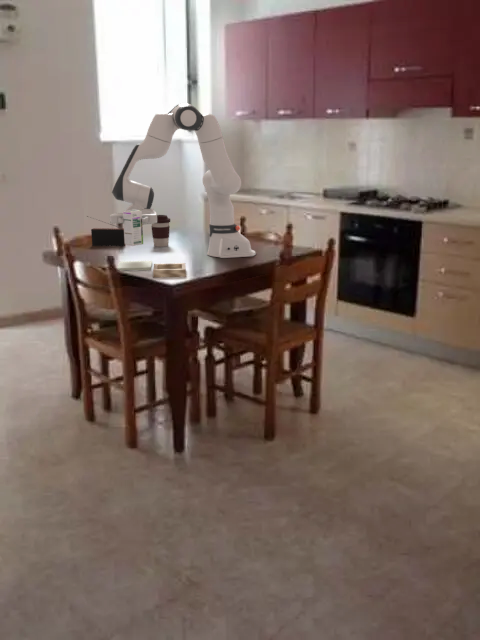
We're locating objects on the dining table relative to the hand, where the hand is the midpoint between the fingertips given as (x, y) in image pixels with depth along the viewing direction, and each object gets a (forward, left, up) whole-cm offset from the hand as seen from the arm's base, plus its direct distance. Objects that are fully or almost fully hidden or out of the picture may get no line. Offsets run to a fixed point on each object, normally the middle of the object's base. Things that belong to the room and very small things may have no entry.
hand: (132, 220), depth 306 cm
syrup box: (0, -1, -10) cm, 10 cm away
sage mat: (0, -1, -20) cm, 20 cm away
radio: (+17, -57, -20) cm, 63 cm away
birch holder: (-15, +14, -20) cm, 29 cm away
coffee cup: (-10, -53, -20) cm, 58 cm away
